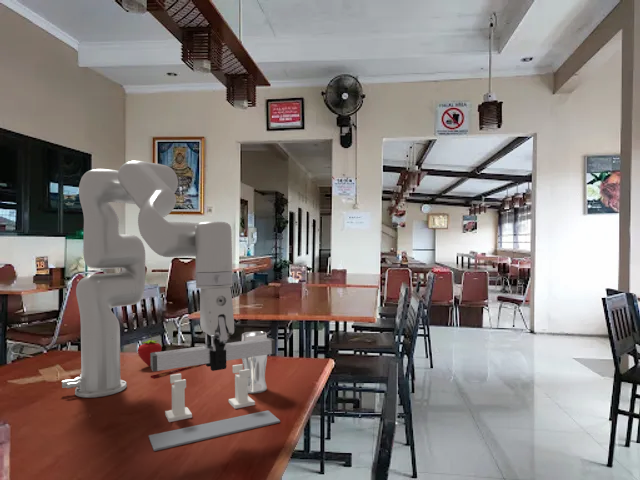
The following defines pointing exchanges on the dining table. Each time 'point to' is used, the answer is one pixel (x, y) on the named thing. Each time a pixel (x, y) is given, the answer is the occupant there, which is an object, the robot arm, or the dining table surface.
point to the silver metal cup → (255, 365)
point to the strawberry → (148, 350)
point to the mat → (211, 430)
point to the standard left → (178, 400)
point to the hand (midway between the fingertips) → (216, 366)
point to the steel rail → (202, 354)
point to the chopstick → (173, 371)
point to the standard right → (241, 388)
